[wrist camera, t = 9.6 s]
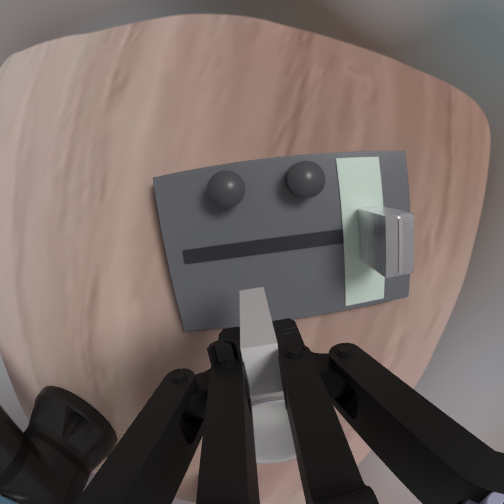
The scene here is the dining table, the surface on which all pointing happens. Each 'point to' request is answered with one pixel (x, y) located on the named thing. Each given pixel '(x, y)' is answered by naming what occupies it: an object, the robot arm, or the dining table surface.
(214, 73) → the dining table surface
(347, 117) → the dining table surface
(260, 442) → the teacup
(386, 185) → the console
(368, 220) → the fader cap
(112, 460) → the robot arm
